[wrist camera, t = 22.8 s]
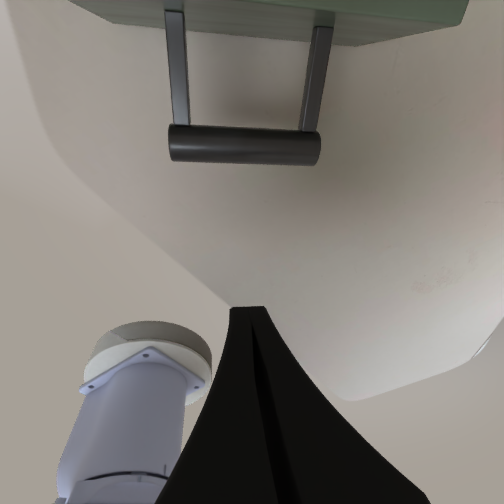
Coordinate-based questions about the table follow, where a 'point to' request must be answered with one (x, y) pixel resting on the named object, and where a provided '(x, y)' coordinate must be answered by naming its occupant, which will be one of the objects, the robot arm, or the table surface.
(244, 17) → the drawer
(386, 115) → the table surface
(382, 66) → the table surface
